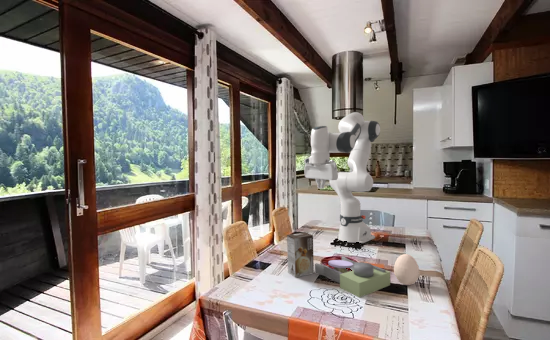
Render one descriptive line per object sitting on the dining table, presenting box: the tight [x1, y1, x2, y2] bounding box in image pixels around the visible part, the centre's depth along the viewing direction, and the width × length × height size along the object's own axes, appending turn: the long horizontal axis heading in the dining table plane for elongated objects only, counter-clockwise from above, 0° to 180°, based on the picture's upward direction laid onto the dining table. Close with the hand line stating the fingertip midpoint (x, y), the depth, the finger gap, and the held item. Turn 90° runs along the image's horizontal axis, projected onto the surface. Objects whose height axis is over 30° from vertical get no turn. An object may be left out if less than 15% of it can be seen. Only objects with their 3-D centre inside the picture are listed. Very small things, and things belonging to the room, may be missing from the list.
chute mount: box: [314, 255, 358, 284], centre depth 118 cm, size 17×16×4 cm
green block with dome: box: [339, 261, 391, 298], centre depth 107 cm, size 17×9×8 cm, turn 123°
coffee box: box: [286, 231, 315, 278], centre depth 120 cm, size 9×6×16 cm
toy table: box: [327, 259, 353, 273], centre depth 117 cm, size 10×9×6 cm
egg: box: [393, 253, 420, 286], centre depth 109 cm, size 9×9×12 cm
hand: (320, 188), depth 141 cm, fingers closed
